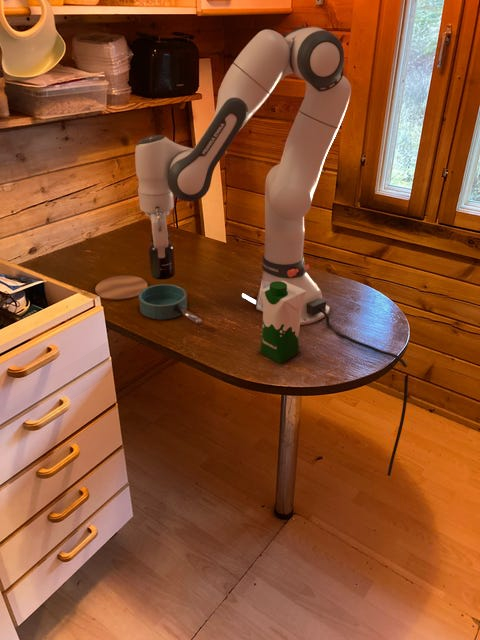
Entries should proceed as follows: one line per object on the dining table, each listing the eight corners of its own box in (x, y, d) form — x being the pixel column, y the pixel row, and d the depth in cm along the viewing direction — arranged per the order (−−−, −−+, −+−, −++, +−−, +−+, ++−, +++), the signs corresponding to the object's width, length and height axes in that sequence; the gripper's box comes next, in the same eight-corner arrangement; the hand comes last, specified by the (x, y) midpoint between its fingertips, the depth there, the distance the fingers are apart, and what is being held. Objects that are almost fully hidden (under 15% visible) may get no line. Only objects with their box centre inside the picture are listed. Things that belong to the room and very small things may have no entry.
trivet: (157, 289, 159) (157, 288, 158) (111, 305, 150) (110, 303, 149) (131, 272, 169) (131, 271, 169) (86, 286, 160) (86, 284, 160)
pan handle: (203, 325, 137) (203, 319, 136) (197, 328, 135) (197, 321, 134) (177, 308, 144) (177, 302, 143) (172, 310, 143) (171, 304, 142)
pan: (196, 310, 148) (195, 296, 146) (156, 325, 140) (155, 311, 138) (170, 293, 157) (169, 280, 155) (131, 306, 149) (129, 293, 147)
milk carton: (254, 352, 130) (257, 281, 120) (278, 339, 135) (283, 270, 125) (280, 367, 124) (285, 294, 114) (304, 353, 130) (311, 282, 120)
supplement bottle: (168, 282, 140) (164, 240, 133) (146, 278, 142) (141, 237, 136) (179, 272, 145) (176, 231, 139) (158, 268, 147) (154, 228, 141)
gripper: (171, 213, 124) (175, 265, 131) (166, 189, 142) (169, 236, 149) (145, 215, 123) (150, 267, 130) (143, 191, 141) (148, 238, 148)
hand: (160, 251), depth 140 cm, fingers closed on supplement bottle, 7 cm apart
